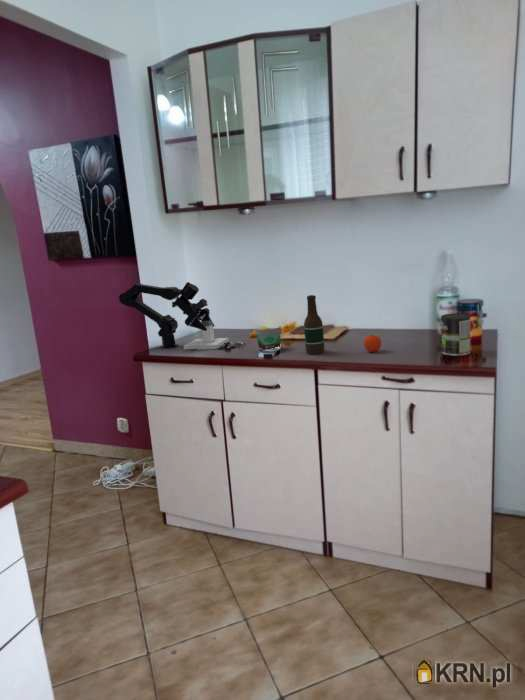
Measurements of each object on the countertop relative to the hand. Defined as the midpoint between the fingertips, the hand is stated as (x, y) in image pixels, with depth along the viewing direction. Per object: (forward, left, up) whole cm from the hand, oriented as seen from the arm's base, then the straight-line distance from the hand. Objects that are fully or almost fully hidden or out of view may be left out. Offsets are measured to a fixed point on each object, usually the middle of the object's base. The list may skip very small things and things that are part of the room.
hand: (210, 328), depth 252 cm
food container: (+37, +2, -9) cm, 38 cm away
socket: (-3, -1, -9) cm, 9 cm away
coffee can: (+110, +25, -9) cm, 113 cm away
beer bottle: (+58, +6, -9) cm, 59 cm away
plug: (-1, -1, -9) cm, 9 cm away
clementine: (+80, +16, -9) cm, 82 cm away
